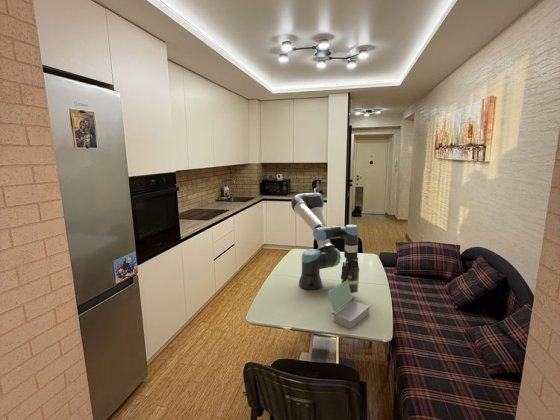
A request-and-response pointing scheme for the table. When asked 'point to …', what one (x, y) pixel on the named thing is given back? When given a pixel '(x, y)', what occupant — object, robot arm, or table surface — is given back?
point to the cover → (340, 295)
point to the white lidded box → (351, 314)
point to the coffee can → (353, 279)
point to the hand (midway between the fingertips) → (349, 286)
